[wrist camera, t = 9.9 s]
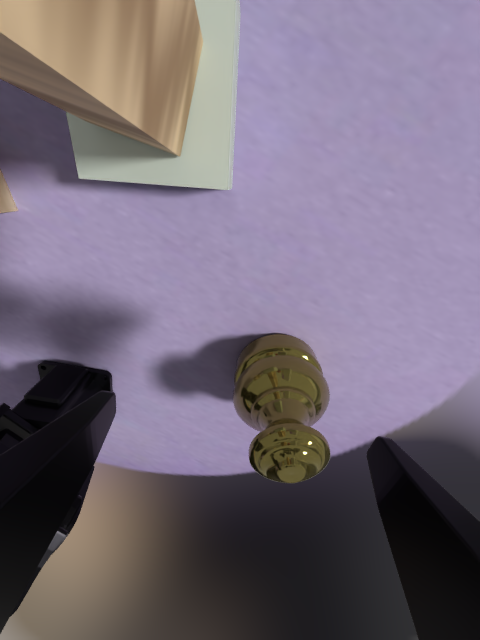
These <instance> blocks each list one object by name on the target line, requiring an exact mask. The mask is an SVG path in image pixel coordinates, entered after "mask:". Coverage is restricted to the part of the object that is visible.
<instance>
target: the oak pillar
mask: <svg viewBox="0 0 480 640" xmlns="http://www.w3.org/2000/svg"><path fill="white" fill-rule="evenodd" d="M202 46H203V38H202V33H201V29H200V24H199V19H198V14H197V9H196V5H195V0H0V79H2V80H4V81H6V82H8V83H10V84H12V85H14V86H16V87H18V88H20V89H22V90H24V91H26V92H28V93H30V94H32V95H34V96H36V97H38V98H40V99H42V100H44V101H46V102H48V103H50V104H52V105H54V106H56V107H58V108H60V109H62V110H64V111H66V112H68V113H70V114H72V115H74V116H76V117H78V118H80V119H83V120H85V121H87V122H89V123H91V124H94V125H97V126H99V127H102V128H105V129H107V130H110V131H113V132H115V133H118V134H121V135H123V136H126V137H129V138H131V139H134V140H137V141H139V142H142V143H145V144H147V145H150V146H153V147H155V148H158V149H161V150H163V151H166V152H169V153H171V154H174V155H176V156H179V157H180V156H181V151H182V146H183V141H184V136H185V131H186V126H187V121H188V116H189V111H190V106H191V101H192V96H193V91H194V86H195V81H196V76H197V71H198V66H199V61H200V56H201V51H202Z"/></svg>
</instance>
